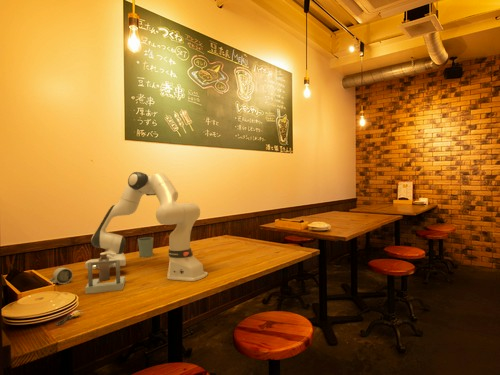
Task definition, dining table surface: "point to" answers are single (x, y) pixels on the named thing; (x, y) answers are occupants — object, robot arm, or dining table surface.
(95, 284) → the grey frame stand
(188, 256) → the robot arm
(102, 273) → the sake bottle
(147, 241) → the grey tapered bin
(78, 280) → the dining table surface
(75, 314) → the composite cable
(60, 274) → the ceramic mug
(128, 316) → the dining table surface
